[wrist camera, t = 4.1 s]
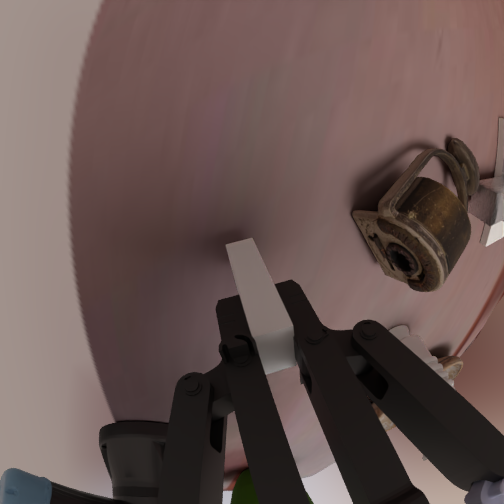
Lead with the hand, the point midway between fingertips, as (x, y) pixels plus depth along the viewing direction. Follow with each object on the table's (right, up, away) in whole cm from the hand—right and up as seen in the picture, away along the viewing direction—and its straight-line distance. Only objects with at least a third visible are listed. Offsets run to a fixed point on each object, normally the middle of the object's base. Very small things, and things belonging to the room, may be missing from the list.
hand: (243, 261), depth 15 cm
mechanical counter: (+13, +5, +3) cm, 14 cm away
